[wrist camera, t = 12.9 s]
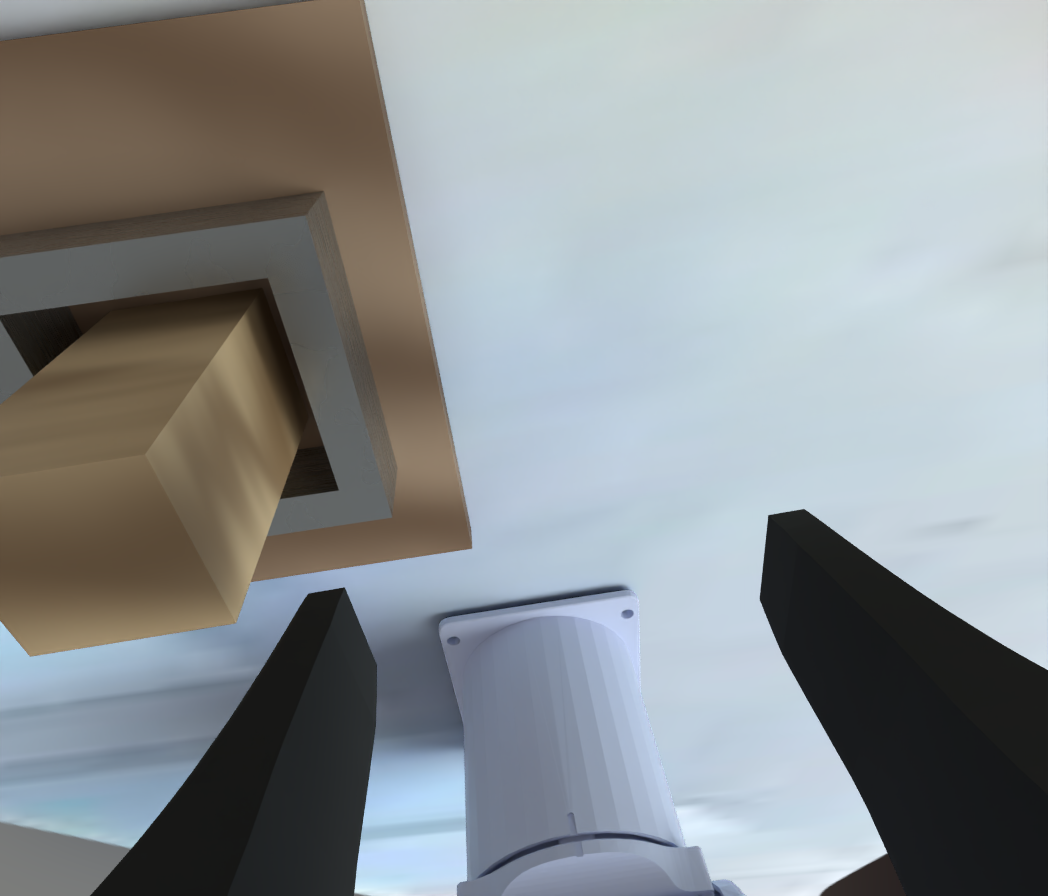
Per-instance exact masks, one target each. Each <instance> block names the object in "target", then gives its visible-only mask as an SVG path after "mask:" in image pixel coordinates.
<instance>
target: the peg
mask: <svg viewBox="0 0 1048 896" xmlns="http://www.w3.org/2000/svg"><path fill="white" fill-rule="evenodd" d="M308 418H309V417H308V414H307V411H306V408H305V406H304V403H303V400H302V397H301V394H300V392H299V389H298V386H297V383H296V380H295V378H294V375H293V372H292V369H291V366H290V363H289V361H288V358H287V355H286V352H285V349H284V347H283V344H282V341H281V338H280V335H279V333H278V330H277V327H276V324H275V321H274V318H273V316H272V313H271V310H270V307H269V304H268V302H267V299H266V296H265V293H264V290H263V288H259V289H252V290H246V291H239V292H233V293H226V294H220V295H213V296H207V297H200V298H193V299H187V300H180V301H174V302H167V303H161V304H154V305H148V306H141V307H134V308H128V309H121V310H115V311H111V312H109V313H108V314H107V315H106V316H105V317H103V318H102V319H101V320H100V321H99V322H98V323H96V324H95V325H94V326H93V327H92V328H90V329H89V330H88V331H87V332H86V333H85V334H83V335H82V336H81V337H80V338H79V339H77V340H76V341H75V342H74V343H73V344H72V345H70V346H69V347H68V348H67V349H66V350H64V351H63V352H62V353H61V354H60V355H58V356H57V357H56V358H55V359H54V360H53V361H51V362H50V363H49V364H48V365H47V366H45V367H44V368H43V369H42V370H41V371H40V372H38V373H37V374H36V375H35V376H34V377H32V378H31V379H30V380H29V381H28V382H27V383H25V384H24V385H23V386H22V387H21V388H19V389H18V390H17V391H16V392H15V393H13V394H12V395H11V396H10V397H9V398H8V399H6V400H5V401H4V402H3V403H2V404H0V621H1V622H2V623H3V625H4V626H5V627H6V628H7V629H8V631H9V632H10V633H11V634H12V635H13V637H14V638H15V639H16V640H17V641H18V643H19V644H20V645H21V646H22V647H23V649H24V650H25V651H26V652H27V653H28V655H29V656H30V657H31V656H37V655H43V654H49V653H55V652H62V651H68V650H74V649H80V648H86V647H93V646H99V645H105V644H111V643H117V642H123V641H130V640H136V639H142V638H148V637H154V636H161V635H167V634H173V633H179V632H185V631H191V630H198V629H204V628H210V627H216V626H222V625H229V624H235V623H236V622H237V619H238V616H239V613H240V610H241V608H242V605H243V602H244V599H245V596H246V593H247V591H248V588H249V585H250V582H251V579H252V576H253V574H254V571H255V568H256V565H257V562H258V559H259V557H260V554H261V551H262V548H263V545H264V542H265V540H266V537H267V534H268V531H269V528H270V525H271V523H272V520H273V517H274V514H275V511H276V508H277V506H278V503H279V500H280V497H281V494H282V491H283V489H284V486H285V483H286V480H287V477H288V474H289V472H290V469H291V466H292V463H293V460H294V457H295V455H296V452H297V449H298V446H299V443H300V440H301V438H302V435H303V432H304V429H305V426H306V423H307V421H308Z"/></svg>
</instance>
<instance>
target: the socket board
mask: <svg viewBox="0 0 1048 896" xmlns="http://www.w3.org/2000/svg"><path fill="white" fill-rule="evenodd" d="M259 288H263V290H264V293H265V296H266V299H267V302H268V304H269V307H270V310H271V313H272V316H273V318H274V321H275V324H276V327H277V330H278V333H279V335H280V338H281V341H282V344H283V347H284V349H285V352H286V355H287V358H288V361H289V363H290V366H291V369H292V372H293V375H294V378H295V380H296V383H297V386H298V389H299V392H300V394H301V397H302V400H303V403H304V406H305V408H306V411H307V414H308V417H309V418H308V421H307V423H306V426H305V429H304V432H303V435H302V438H301V440H300V443H299V446H298V449H297V452H296V455H295V457H294V460H293V463H292V466H291V469H290V472H289V474H288V477H287V480H286V483H285V486H284V489H283V491H282V494H281V497H280V500H279V503H278V506H277V508H276V511H275V514H274V517H273V520H272V523H271V525H270V528H269V531H268V534H267V537H266V540H265V542H264V545H263V548H262V551H261V554H260V557H259V559H258V562H257V565H256V568H255V571H254V574H253V576H252V579H251V582H254V581H261V580H267V579H274V578H281V577H287V576H294V575H300V574H307V573H314V572H320V571H327V570H333V569H340V568H347V567H353V566H360V565H366V564H373V563H380V562H386V561H393V560H399V559H406V558H413V557H419V556H426V555H433V554H439V553H446V552H452V551H459V550H466V549H472V536H471V527H470V522H469V517H468V512H467V507H466V502H465V497H464V492H463V487H462V482H461V477H460V472H459V467H458V462H457V457H456V452H455V448H454V443H453V438H452V433H451V428H450V423H449V418H448V413H447V408H446V403H445V398H444V393H443V388H442V383H441V378H440V373H439V368H438V364H437V359H436V354H435V349H434V344H433V339H432V334H431V329H430V324H429V319H428V314H427V309H426V304H425V299H424V294H423V289H422V284H421V280H420V275H419V270H418V265H417V260H416V255H415V250H414V245H413V240H412V235H411V230H410V225H409V220H408V215H407V210H406V205H405V200H404V196H403V191H402V186H401V181H400V176H399V171H398V166H397V161H396V156H395V151H394V146H393V141H392V136H391V131H390V126H389V121H388V116H387V112H386V107H385V102H384V97H383V92H382V87H381V82H380V77H379V72H378V67H377V62H376V57H375V52H374V47H373V42H372V37H371V32H370V28H369V23H368V18H367V13H366V8H365V3H364V0H313V1H305V2H298V3H290V4H282V5H275V6H267V7H259V8H252V9H244V10H236V11H228V12H221V13H213V14H205V15H198V16H190V17H182V18H174V19H167V20H159V21H151V22H144V23H136V24H128V25H121V26H113V27H105V28H97V29H90V30H82V31H74V32H67V33H59V34H51V35H43V36H36V37H28V38H20V39H13V40H5V41H0V404H2V403H3V402H4V401H5V400H6V399H8V398H9V397H10V396H11V395H12V394H13V393H15V392H16V391H17V390H18V389H19V388H21V387H22V386H23V385H24V384H25V383H27V382H28V381H29V380H30V379H31V378H32V377H34V376H35V375H36V374H37V373H38V372H40V371H41V370H42V369H43V368H44V367H45V366H47V365H48V364H49V363H50V362H51V361H53V360H54V359H55V358H56V357H57V356H58V355H60V354H61V353H62V352H63V351H64V350H66V349H67V348H68V347H69V346H70V345H72V344H73V343H74V342H75V341H76V340H77V339H79V338H80V337H81V336H82V335H83V334H85V333H86V332H87V331H88V330H89V329H90V328H92V327H93V326H94V325H95V324H96V323H98V322H99V321H100V320H101V319H102V318H103V317H105V316H106V315H107V314H108V313H109V312H111V311H115V310H121V309H128V308H134V307H141V306H148V305H154V304H161V303H167V302H174V301H180V300H187V299H193V298H200V297H207V296H213V295H220V294H226V293H233V292H239V291H246V290H252V289H259Z"/></svg>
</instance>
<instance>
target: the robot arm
mask: <svg viewBox="0 0 1048 896" xmlns="http://www.w3.org/2000/svg"><path fill="white" fill-rule="evenodd" d="M760 601H761V604H762V606H763V609H764V611H765V614H766V616H767V619H768V621H769V624H770V626H771V629H772V631H773V634H774V636H775V638H776V641H777V643H778V645H779V648H780V650H781V652H782V655H783V656H784V658H785V660H786V662H787V664H788V666H789V667H790V669H791V671H792V673H793V675H794V676H795V678H796V680H797V682H798V684H799V685H800V687H801V689H802V691H803V693H804V694H805V696H806V698H807V700H808V701H809V703H810V705H811V707H812V709H813V710H814V712H815V714H816V716H817V717H818V719H819V721H820V723H821V724H822V726H823V728H824V730H825V731H826V733H827V735H828V737H829V739H830V740H831V742H832V744H833V746H834V747H835V749H836V751H837V753H838V754H839V756H840V758H841V760H842V761H843V763H844V765H845V767H846V769H847V770H848V772H849V774H850V776H851V777H852V779H853V781H854V783H855V785H856V787H857V789H858V791H859V793H860V795H861V797H862V799H863V801H864V802H865V804H866V806H867V808H868V811H869V813H870V815H871V817H872V819H873V822H874V824H875V826H876V828H877V830H878V833H879V835H880V837H881V839H882V842H883V844H884V846H885V848H886V850H887V853H888V855H889V857H890V859H891V861H892V864H893V866H894V868H895V870H896V873H897V875H898V877H899V880H900V882H901V884H902V887H903V889H904V891H905V894H906V896H1048V670H1047V669H1045V668H1043V667H1041V666H1039V665H1037V664H1036V663H1034V662H1032V661H1030V660H1028V659H1027V658H1025V657H1023V656H1021V655H1019V654H1018V653H1016V652H1014V651H1013V650H1011V649H1009V648H1007V647H1006V646H1004V645H1002V644H1001V643H999V642H997V641H996V640H994V639H992V638H991V637H989V636H987V635H986V634H984V633H983V632H981V631H979V630H978V629H976V628H975V627H973V626H971V625H970V624H968V623H967V622H965V621H963V620H962V619H960V618H959V617H957V616H955V615H954V614H952V613H951V612H949V611H948V610H946V609H945V608H943V607H941V606H940V605H938V604H937V603H935V602H934V601H932V600H931V599H929V598H928V597H926V596H925V595H923V594H922V593H920V592H919V591H917V590H916V589H915V588H913V587H912V586H910V585H909V584H907V583H906V582H904V581H903V580H902V579H900V578H899V577H897V576H896V575H894V574H893V573H891V572H890V571H889V570H887V569H886V568H884V567H883V566H882V565H880V564H879V563H877V562H876V561H875V560H873V559H872V558H870V557H869V556H868V555H866V554H865V553H864V552H862V551H861V550H859V549H858V548H857V547H855V546H854V545H853V544H851V543H850V542H849V541H847V540H846V539H844V538H843V537H842V536H840V535H839V534H838V533H836V532H835V531H834V530H832V529H831V528H830V527H828V526H827V525H825V524H824V523H823V522H821V521H820V520H819V519H817V518H816V517H815V516H813V515H812V514H810V513H809V512H808V511H806V510H805V509H802V510H796V511H790V512H785V513H779V514H773V515H768V525H767V534H766V544H765V553H764V563H763V573H762V582H761V592H760ZM624 610H628V611H624ZM439 636H440V640H441V643H442V647H443V651H444V655H445V658H446V662H447V666H448V669H449V673H450V677H451V681H452V684H453V688H454V692H455V695H456V699H457V703H458V706H459V710H460V714H461V718H462V721H463V726H464V766H465V806H466V846H467V881H465V882H460V883H459V884H458V885H457V896H746V895H745V894H743V892H742V891H741V890H740V888H739V887H737V886H736V885H735V884H734V883H733V882H732V881H729V880H724V879H723V880H717V881H711V879H710V876H709V873H708V870H707V866H706V863H705V860H704V857H703V854H702V850H701V848H700V847H698V846H694V847H686V844H685V840H684V837H683V834H682V830H681V827H680V823H679V820H678V817H677V813H676V810H675V806H674V803H673V800H672V796H671V793H670V789H669V786H668V783H667V779H666V776H665V772H664V769H663V766H662V762H661V759H660V755H659V752H658V749H657V745H656V742H655V738H654V735H653V731H652V728H651V725H650V721H649V718H648V714H647V711H646V708H645V704H644V701H643V697H642V694H641V686H640V626H639V601H638V598H637V595H636V593H635V592H634V591H631V590H622V591H615V592H609V593H602V594H596V595H589V596H583V597H576V598H570V599H563V600H557V601H550V602H544V603H537V604H531V605H524V606H518V607H511V608H505V609H498V610H492V611H485V612H479V613H472V614H466V615H459V616H453V617H448V618H445V619H443V620H442V621H441V622H440V623H439ZM451 637H455V638H451ZM376 698H377V665H376V662H375V660H374V657H373V655H372V652H371V650H370V648H369V645H368V643H367V640H366V638H365V635H364V633H363V631H362V628H361V626H360V623H359V621H358V618H357V616H356V614H355V611H354V609H353V606H352V604H351V602H350V599H349V597H348V594H347V592H346V589H345V588H339V589H333V590H327V591H321V592H315V593H310V594H308V595H307V597H306V598H305V599H304V601H303V602H302V604H301V606H300V607H299V609H298V611H297V612H296V614H295V616H294V617H293V619H292V621H291V622H290V624H289V626H288V627H287V629H286V631H285V632H284V634H283V636H282V637H281V639H280V641H279V642H278V644H277V646H276V647H275V649H274V650H273V652H272V654H271V655H270V657H269V659H268V660H267V662H266V663H265V665H264V667H263V668H262V670H261V672H260V673H259V675H258V676H257V678H256V679H255V681H254V682H253V684H252V685H251V687H250V689H249V690H248V692H247V693H246V695H245V696H244V698H243V699H242V701H241V702H240V704H239V706H238V707H237V709H236V710H235V712H234V713H233V715H232V716H231V718H230V719H229V721H228V722H227V724H226V725H225V726H224V728H223V729H222V731H221V732H220V733H219V735H218V736H217V738H216V739H215V741H214V742H213V743H212V745H211V746H210V748H209V749H208V750H207V752H206V753H205V755H204V756H203V758H202V759H201V760H200V762H199V763H198V765H197V766H196V767H195V769H194V770H193V772H192V773H191V774H190V776H189V777H188V778H187V780H186V781H185V782H184V784H183V785H182V786H181V787H180V789H179V790H178V791H177V793H176V794H175V795H174V797H173V798H172V799H171V801H170V802H169V803H168V804H167V806H166V807H165V808H164V810H163V811H162V812H161V813H160V814H159V816H158V817H157V818H156V819H155V821H154V822H153V823H152V824H151V826H150V827H149V828H148V829H147V831H146V832H145V833H144V834H143V835H142V837H141V838H140V839H139V840H138V842H137V843H136V844H135V845H134V846H133V848H132V849H131V850H130V851H129V852H128V853H127V855H126V856H125V857H124V858H123V859H122V860H121V862H119V864H118V865H117V866H116V867H115V868H114V870H113V871H112V872H111V873H110V874H109V875H108V876H107V877H106V879H105V880H104V881H103V882H102V883H101V884H100V885H99V887H98V888H97V889H96V890H95V891H94V892H93V893H92V894H91V895H90V896H354V889H355V879H356V869H357V860H358V853H359V846H360V839H361V831H362V824H363V817H364V810H365V802H366V795H367V788H368V780H369V773H370V766H371V758H372V750H373V743H374V735H375V727H376Z"/></svg>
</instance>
